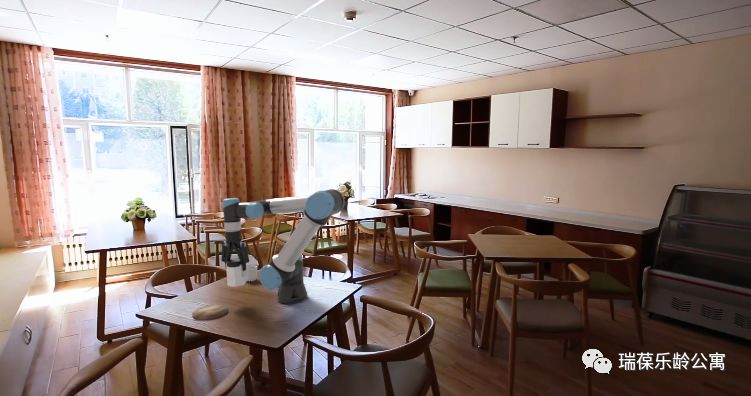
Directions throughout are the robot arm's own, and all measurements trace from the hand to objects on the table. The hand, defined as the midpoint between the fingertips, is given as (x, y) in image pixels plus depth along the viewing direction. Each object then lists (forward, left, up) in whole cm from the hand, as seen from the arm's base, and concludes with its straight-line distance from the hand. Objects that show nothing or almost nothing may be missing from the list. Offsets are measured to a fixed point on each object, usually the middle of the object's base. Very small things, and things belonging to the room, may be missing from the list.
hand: (236, 276), depth 189 cm
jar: (0, 0, -4) cm, 4 cm away
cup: (+20, -32, -14) cm, 40 cm away
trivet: (+3, +14, -14) cm, 20 cm away
